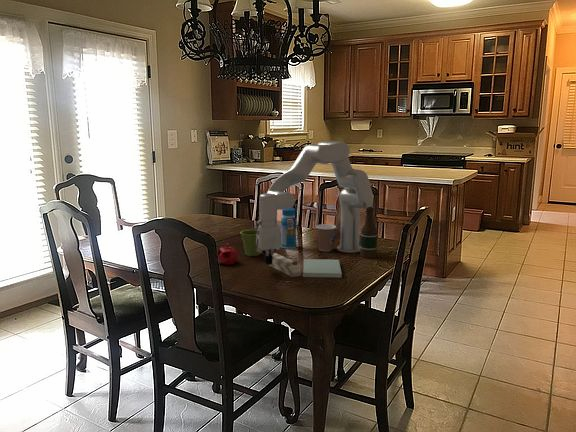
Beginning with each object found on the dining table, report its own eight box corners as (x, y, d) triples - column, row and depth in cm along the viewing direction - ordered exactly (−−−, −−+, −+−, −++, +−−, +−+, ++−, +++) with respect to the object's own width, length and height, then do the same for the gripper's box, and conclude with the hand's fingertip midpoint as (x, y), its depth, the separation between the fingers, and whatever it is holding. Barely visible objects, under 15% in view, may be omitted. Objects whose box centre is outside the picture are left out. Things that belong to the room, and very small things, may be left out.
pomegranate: (227, 258, 225) (227, 239, 223) (243, 262, 219) (242, 242, 217) (212, 263, 217) (211, 243, 216) (227, 267, 211) (226, 247, 209)
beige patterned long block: (300, 275, 199) (300, 261, 198) (292, 277, 197) (292, 263, 196) (275, 263, 216) (275, 251, 215) (268, 265, 214) (268, 252, 212)
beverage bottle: (277, 247, 244) (277, 209, 240) (285, 244, 251) (285, 207, 247) (292, 249, 240) (292, 211, 236) (299, 246, 247) (299, 208, 243)
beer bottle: (368, 259, 223) (370, 209, 218) (356, 256, 229) (358, 207, 224) (379, 257, 227) (381, 207, 223) (368, 253, 233) (369, 205, 229)
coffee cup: (334, 252, 235) (335, 229, 232) (314, 251, 237) (314, 228, 234) (336, 247, 245) (337, 224, 242) (317, 246, 247) (317, 223, 244)
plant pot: (268, 252, 235) (267, 230, 233) (260, 258, 224) (260, 235, 222) (245, 250, 239) (245, 228, 236) (236, 256, 227) (236, 234, 225)
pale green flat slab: (303, 262, 218) (303, 259, 217) (338, 263, 217) (338, 259, 217) (303, 276, 198) (303, 272, 198) (341, 277, 197) (341, 273, 197)
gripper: (256, 226, 195) (256, 268, 198) (287, 222, 202) (287, 263, 205) (248, 222, 201) (249, 264, 205) (279, 219, 208) (279, 259, 212)
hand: (268, 263), depth 205 cm, fingers closed
